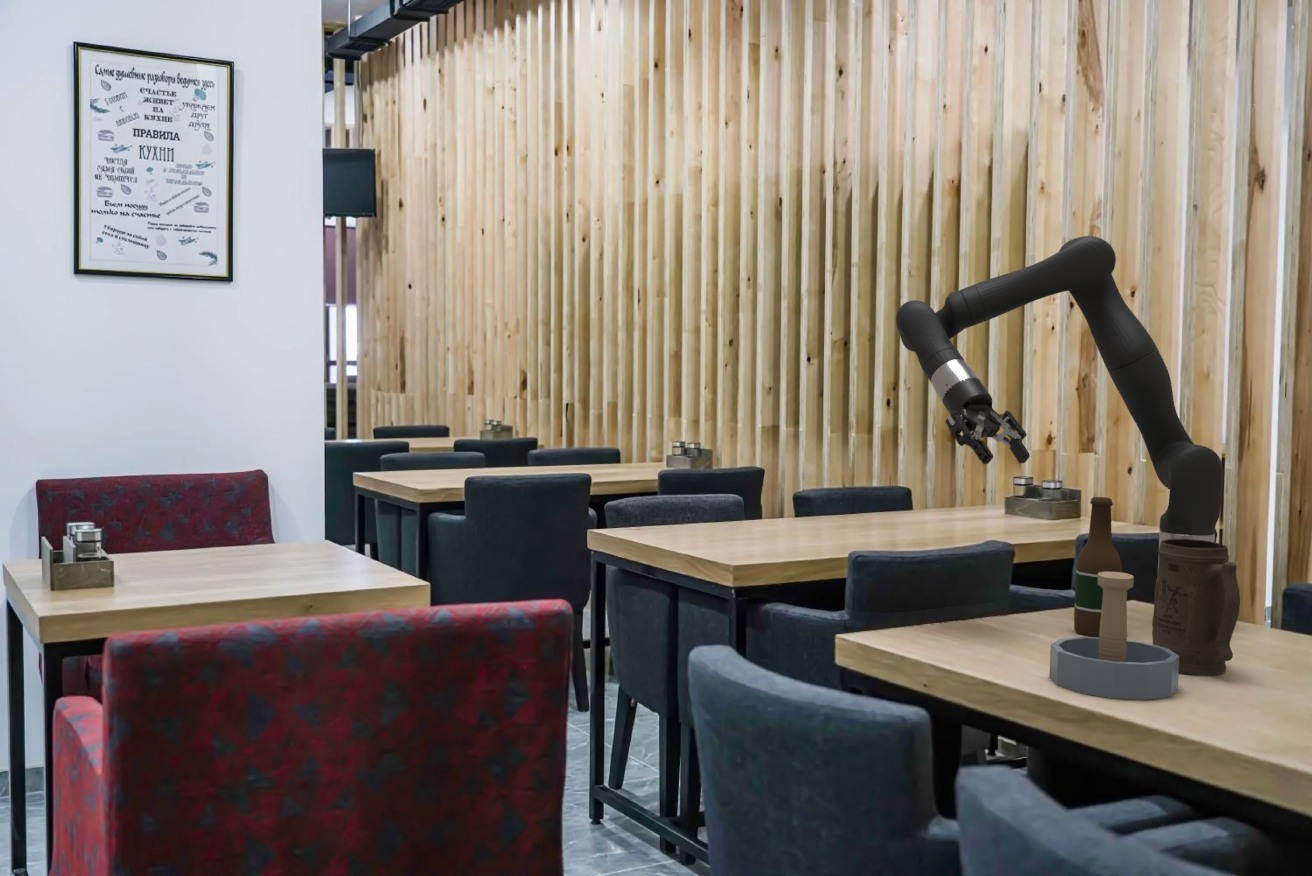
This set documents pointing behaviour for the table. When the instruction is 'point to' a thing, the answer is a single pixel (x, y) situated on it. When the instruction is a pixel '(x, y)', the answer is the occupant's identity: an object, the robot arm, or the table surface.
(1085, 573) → the beer bottle
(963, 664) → the table surface
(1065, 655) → the bowl
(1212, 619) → the beer stein
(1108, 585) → the handle
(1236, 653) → the table surface
